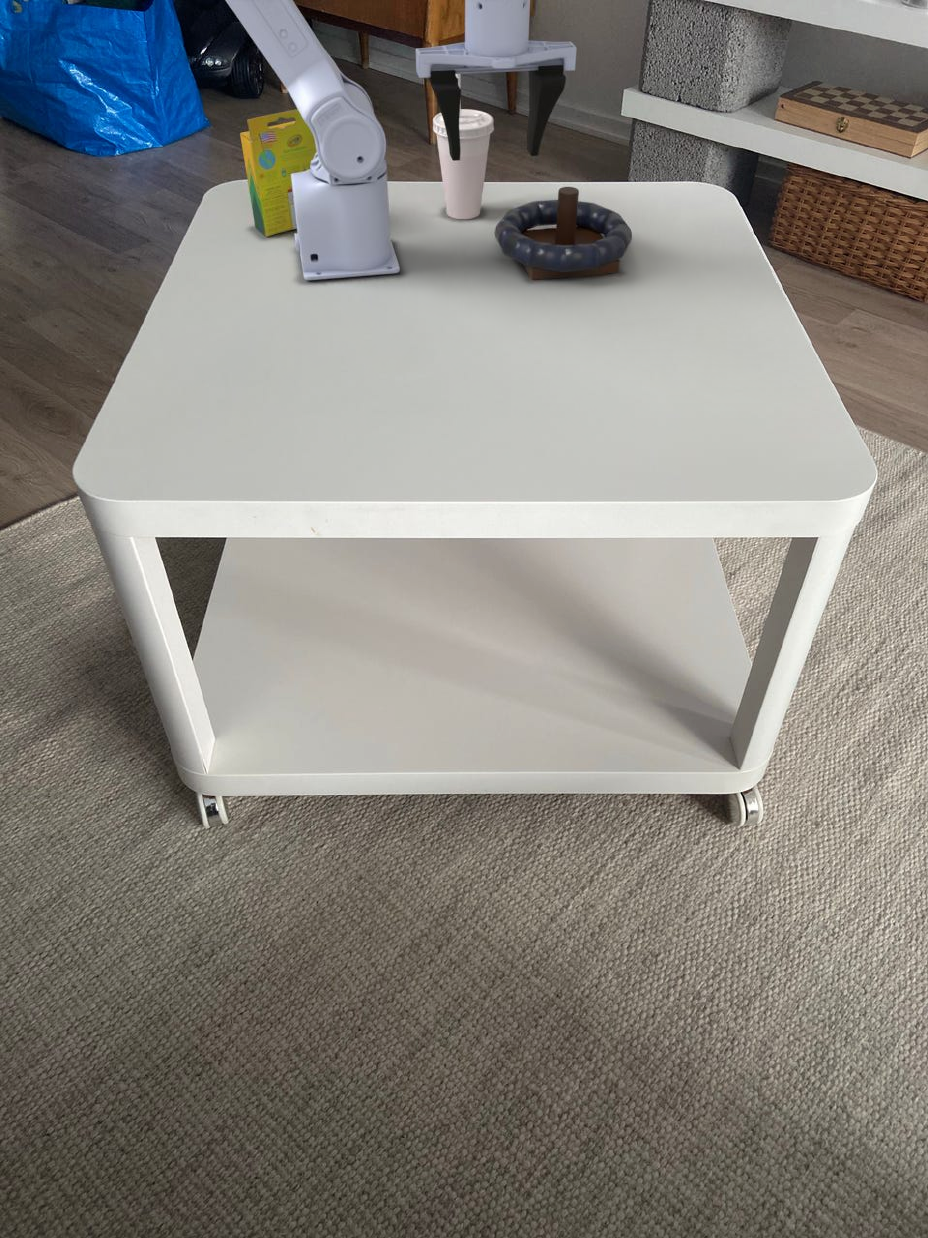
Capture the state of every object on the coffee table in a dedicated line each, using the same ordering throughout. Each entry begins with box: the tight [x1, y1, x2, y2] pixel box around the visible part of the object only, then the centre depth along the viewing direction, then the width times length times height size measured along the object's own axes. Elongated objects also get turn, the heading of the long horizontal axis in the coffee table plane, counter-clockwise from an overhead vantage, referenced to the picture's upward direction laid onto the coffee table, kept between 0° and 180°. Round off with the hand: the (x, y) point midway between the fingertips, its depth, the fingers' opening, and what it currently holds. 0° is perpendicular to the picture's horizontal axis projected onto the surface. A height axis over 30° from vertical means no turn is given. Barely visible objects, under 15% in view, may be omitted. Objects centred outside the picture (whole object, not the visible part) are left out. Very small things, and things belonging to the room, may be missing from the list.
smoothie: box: [432, 74, 495, 220], centre depth 103 cm, size 6×6×14 cm
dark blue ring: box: [494, 199, 633, 272], centre depth 98 cm, size 13×13×2 cm
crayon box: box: [239, 108, 317, 238], centre depth 101 cm, size 7×3×12 cm, turn 123°
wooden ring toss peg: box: [521, 186, 621, 281], centre depth 97 cm, size 9×9×7 cm
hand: (493, 154), depth 94 cm, fingers open, 7 cm apart
